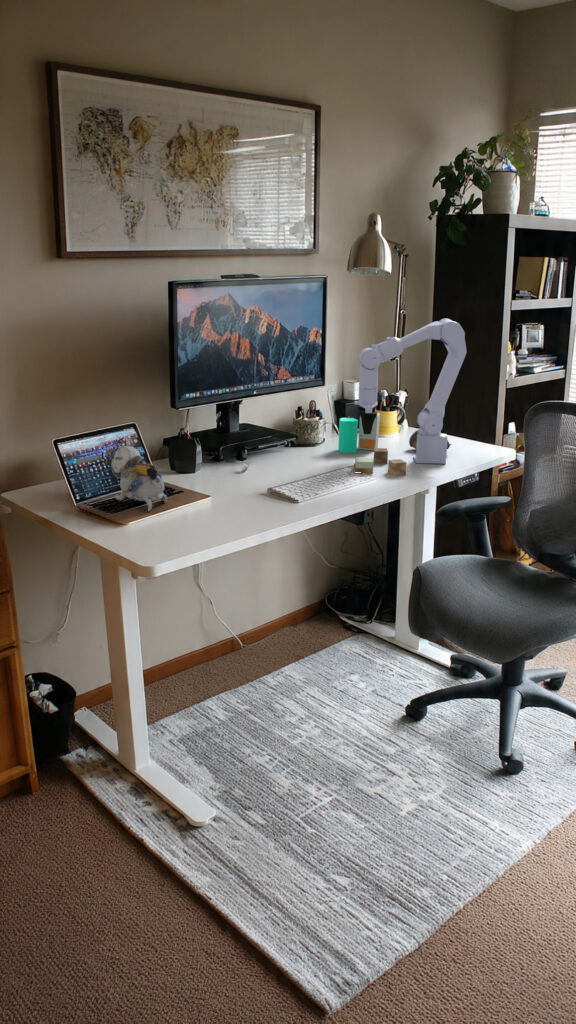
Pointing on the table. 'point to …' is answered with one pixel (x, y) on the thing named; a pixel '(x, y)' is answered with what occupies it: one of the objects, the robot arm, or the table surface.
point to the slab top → (363, 462)
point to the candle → (348, 435)
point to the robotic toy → (136, 476)
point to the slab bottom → (363, 470)
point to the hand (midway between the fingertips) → (366, 431)
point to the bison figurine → (414, 440)
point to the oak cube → (397, 467)
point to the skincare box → (369, 436)
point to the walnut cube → (380, 455)
